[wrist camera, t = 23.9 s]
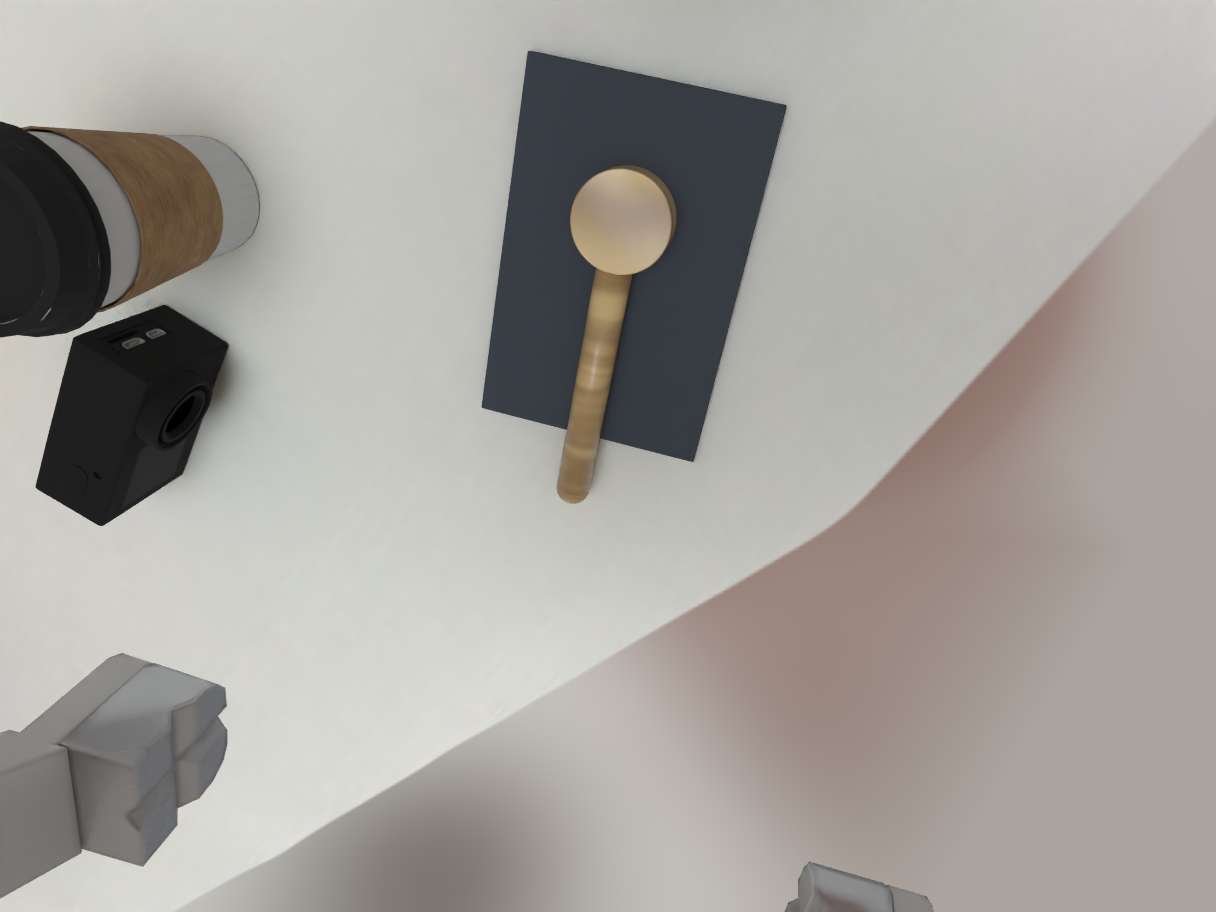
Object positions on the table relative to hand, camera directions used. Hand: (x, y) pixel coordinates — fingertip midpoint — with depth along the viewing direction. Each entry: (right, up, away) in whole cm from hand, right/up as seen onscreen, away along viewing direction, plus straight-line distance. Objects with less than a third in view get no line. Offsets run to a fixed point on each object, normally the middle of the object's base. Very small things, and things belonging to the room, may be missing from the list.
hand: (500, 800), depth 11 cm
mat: (+2, +14, +30) cm, 33 cm away
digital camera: (-24, +8, +39) cm, 46 cm away
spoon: (+1, +10, +31) cm, 33 cm away
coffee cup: (-20, +19, +33) cm, 43 cm away
